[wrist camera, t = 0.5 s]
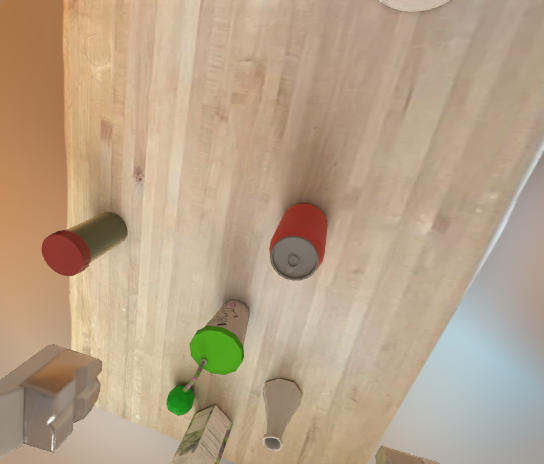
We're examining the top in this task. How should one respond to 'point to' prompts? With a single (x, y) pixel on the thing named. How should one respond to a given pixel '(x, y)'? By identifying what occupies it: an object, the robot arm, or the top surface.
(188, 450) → the syrup box
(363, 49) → the top surface
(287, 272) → the beer can
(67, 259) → the lid
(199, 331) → the cup
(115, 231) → the jar
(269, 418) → the flask
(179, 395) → the polyhedron
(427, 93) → the top surface
